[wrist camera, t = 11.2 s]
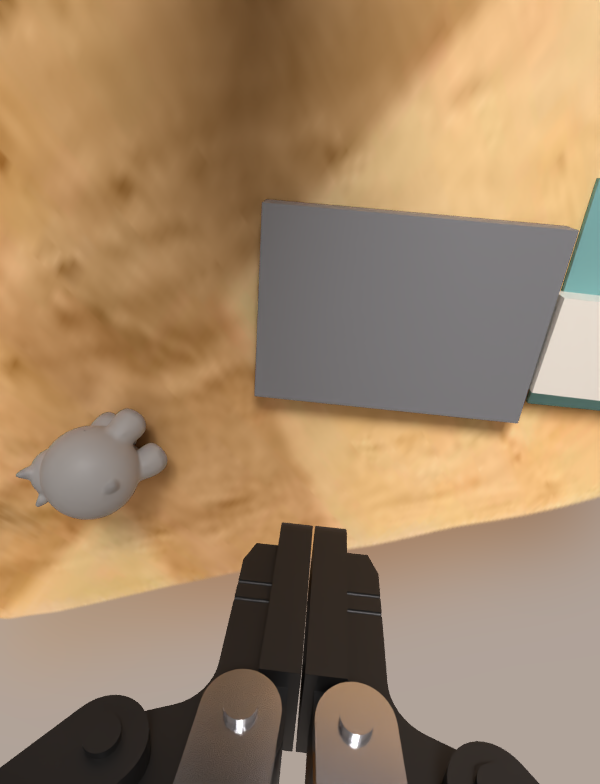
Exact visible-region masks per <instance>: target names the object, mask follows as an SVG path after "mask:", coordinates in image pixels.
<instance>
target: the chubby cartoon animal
mask: <svg viewBox="0 0 600 784" xmlns="http://www.w3.org/2000/svg"><path fill="white" fill-rule="evenodd" d="M145 429H146V423H145V420H144V418H143V416H142V415H141V414H139V413H138V412H136V411H134V410H132V409H123V410H121V411H120V412H118V413H117V414H116V415H115V414H114V413H111V412H106V413H103V414H102V415H100V416H99V417H98V418H96V419H95V420H94V422H93V423H92V424H91V426H83V427H79V428H76V429H73V430H70V431H68V432H66V433H65V434H63V435H62V436H60V437H59V438H58V439H56V440H55V441H54V442H53V443H52V445H51V446H50V447H49V448H48V449H46V450H44V451H43V452H41V453H40V454H39V455H38V456H37V457H36V458H35V459H34V460H33V462H32V464H31V465H30V466H29V467H27V468H24V469H22V470H21V471H19V472H18V473H17V474H16V476H17V477H19V478H23V479H28V480H30V481H31V483H32V485H33V487H34V488H35V489H36V490H37V492H38V493H39V497H38V499H37V502H36V506H37V507H39V506H42V505H44V504H46V503H47V502H49V503H50V504H51V505H52V506H53V507H54V508H55V509H56V510H58V511H59V512H61V513H63V514H65V515H67V516H69V517H72V518H77V519H97V518H101V517H105V516H107V515H110V514H112V513H114V512H115V511H117V510H118V509H120V508H121V507H122V506H123V505H125V504H126V503H127V501H128V500H129V499H130V498H131V496H132V495H133V493H134V492H135V490H136V487H137V485H138V483H139V482H140V481H142V480H144V479H147V478H150V477H152V476H155V475H156V474H158V473H160V472H161V471H162V470H163V469H164V468H165V467H166V465H167V456H166V454H165V452H164V451H163V450H162V448H161V447H159V446H158V445H157V444H155V443H148V444H145V445H144V446H142V447H141V448H140V449H138V448H137V447H136V446H134V445H135V444H136V443H137V439H138V438H139V437H141V436H142V434H143V433H144V432H145Z"/></svg>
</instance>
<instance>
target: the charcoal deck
mask: <svg viewBox="0 0 600 784" xmlns="http://www.w3.org/2000/svg"><path fill="white" fill-rule="evenodd" d="M578 232H579V231H578V230H576V229H573V228H570V227H567V226H560V225H549V224H538V223H527V222H515V221H504V220H493V219H482V218H471V217H459V216H448V215H437V214H426V213H415V212H403V211H392V210H381V209H370V208H359V207H347V206H336V205H325V204H314V203H303V202H291V201H280V200H269V199H266V200H265V201H263V202H262V218H261V243H260V269H259V295H258V321H257V347H256V373H255V396H259V397H269V398H278V399H288V400H297V401H307V402H317V403H326V404H336V405H346V406H355V407H365V408H375V409H384V410H394V411H404V412H413V413H423V414H433V415H442V416H452V417H462V418H471V419H481V420H491V421H500V422H510V423H518V421H519V418H520V415H521V411H522V408H523V405H524V402H525V399H526V396H527V392H528V389H529V386H530V383H531V380H532V377H533V374H534V370H535V367H536V364H537V361H538V358H539V355H540V351H541V348H542V345H543V342H544V339H545V336H546V333H547V329H548V326H549V323H550V320H551V317H552V314H553V310H554V307H555V304H556V301H557V298H558V295H559V292H560V288H561V285H562V282H563V279H564V276H565V273H566V270H567V266H568V263H569V260H570V257H571V254H572V251H573V247H574V244H575V241H576V238H577V235H578Z"/></svg>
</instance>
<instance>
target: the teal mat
mask: <svg viewBox="0 0 600 784" xmlns="http://www.w3.org/2000/svg"><path fill="white" fill-rule="evenodd" d="M561 291H564V292H573V293H582V294H591V295H600V178H597V180H596V183H595V186H594V189H593V192H592V195H591V199H590V202H589V205H588V208H587V211H586V214H585V217H584V221H583V224H582V227H581V230H580V233H579V236H578V239H577V243H576V246H575V249H574V252H573V255H572V258H571V261H570V264H569V268H568V271H567V274H566V277H565V280H564V283H563V286H562V290H561ZM526 401H527V403H531V404H541V405H551V406H561V407H571V408H580V409H590V410H600V401H597V400H589V399H580V398H572V397H564V396H555V395H547V394H538V393H532V392H531V391H530V390H529V393H528V396H527V400H526Z"/></svg>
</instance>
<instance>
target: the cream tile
mask: <svg viewBox="0 0 600 784" xmlns="http://www.w3.org/2000/svg"><path fill="white" fill-rule="evenodd" d="M529 389H530V391H531V392H532V393H538V394H547V395H555V396H564V397H572V398H580V399H589V400H597V401H600V295H591V294H582V293H573V292H564V291H560V292H559V295H558V298H557V301H556V304H555V307H554V310H553V314H552V317H551V320H550V323H549V326H548V329H547V333H546V336H545V339H544V342H543V345H542V348H541V351H540V355H539V358H538V361H537V364H536V367H535V370H534V374H533V377H532V380H531V383H530V386H529Z"/></svg>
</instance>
